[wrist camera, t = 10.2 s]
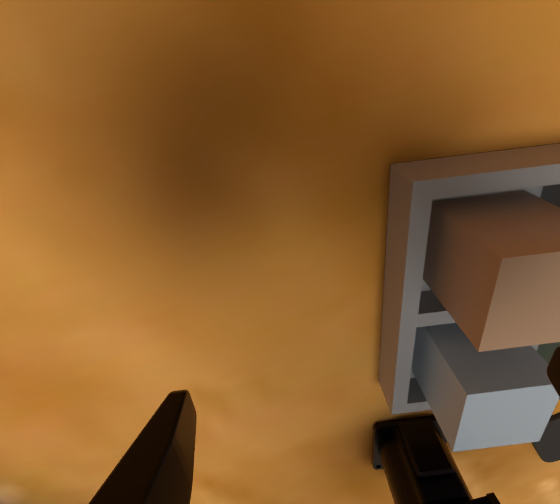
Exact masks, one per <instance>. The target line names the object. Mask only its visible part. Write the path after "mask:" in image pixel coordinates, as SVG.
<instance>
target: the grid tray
mask: <svg viewBox="0 0 560 504" xmlns="http://www.w3.org/2000/svg"><path fill="white" fill-rule="evenodd" d="M558 346H560V143H557V144H549V145H541V146H533V147H525V148H517V149H509V150H500V151H492V152H484V153H476V154H468V155H460V156H452V157H443V158H435V159H427V160H419V161H411V162H403V163H395V164H391V165H390V183H389V201H388V218H387V236H386V254H385V272H384V289H383V307H382V325H381V343H380V360H379V378H378V380H379V383H380V385H381V388H382V391H383V393H384V396H385V398H386V401H387V404H388V406H389V409H390V411H391V414H392V415H394V414H402V413H410V412H418V411H426V410H432V412H433V414H434V416H435V418H436V420H437V422H438V424H439V426H440V428H441V430H442V432H443V434H444V436H445V438H446V440H447V442H448V444H449V446H450V448H451V450H452V452H457V451H465V450H473V449H481V448H489V447H497V446H505V445H513V444H521V443H530V442H538V441H540V439H541V436H542V434H543V432H544V430H545V428H546V426H547V424H548V421H549V419H550V417H551V415H552V413H553V411H554V409H555V406H556V404H557V402H558V400H559V399H560V397H559V395H558V394H557V392H556V390H555V389H554V387H553V385H552V384H551V382H550V380H549V378H548V376H547V366H548V364H549V362H550V360H551V357H552V355H553V353H554V350H555V349H556V348H557V347H558Z"/></svg>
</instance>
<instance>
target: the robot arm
mask: <svg viewBox="0 0 560 504" xmlns="http://www.w3.org/2000/svg"><path fill="white" fill-rule="evenodd" d="M547 376H548V378H549V380H550V382H551V384H552V385H553V387H554V389H555V390H556V392H557V394H558V395H559V397H560V346H558V347H557V348H556V349H555V350H554V353H553V355H552V357H551V360H550V362H549V364H548V366H547ZM195 435H196V410H195V407H194V404H193V402H192V399H191V396H190V393H189V391H188V390H178V391H172V392H171V393H169V394H168V396H167V397H166V398H165V400H164V401H163V402H162V404H161V405H160V407H159V408H158V409H157V411H156V412H155V413H154V415H153V416H152V417H151V419H150V420H149V422H148V423H147V424H146V426H145V427H144V428H143V430H142V431H141V433H140V434H139V435H138V437H137V438H136V439H135V441H134V442H133V444H132V445H131V446H130V448H129V449H128V450H127V452H126V453H125V455H124V456H123V457H122V459H121V460H120V461H119V463H118V464H117V465H116V467H115V468H114V470H113V471H112V472H111V474H110V475H109V476H108V478H107V479H106V481H105V482H104V483H103V485H102V486H101V487H100V489H99V490H98V492H97V493H96V494H95V496H94V497H93V498H92V500H91V501H90V502H89V504H190V498H191V491H192V481H193V466H194V451H195ZM446 442H447V440H446V438H445V436H444V434H443V432H442V430H441V428H440V426H439V424H438V422H437V420H436V418H435V416H432V417H424V418H416V419H408V420H400V421H392V422H384V423H378V424H376V425H375V426H374V431H373V451H372V465H373V468H374V469H376V470H378V469H384V471H385V474H386V477H387V481H388V484H389V487H390V490H391V493H392V497H393V500H394V503H395V504H500V502H499V501H498V499H497V497H496V496H495V494H494V493H489V494H486V496H484V497H480V498H476V499H473V498H472V496H471V494H470V492H469V490H468V488H467V486H466V484H465V482H464V480H463V478H462V476H461V474H460V472H459V470H458V468H457V466H456V463H455V461H454V459H453V457H452V455H451V453H450V451H449V449H448V447H447V445H446Z"/></svg>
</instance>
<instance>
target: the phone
mask: <svg viewBox="0 0 560 504" xmlns="http://www.w3.org/2000/svg"><path fill="white" fill-rule="evenodd" d="M532 444H533V446H534V447H535V449H536V451H537V453H538V454H539V456H540V457H541V459H542V460H543V461H545V462H554V461H558V460H560V413H557V414H555V415H552V416H551V417H550V419H549V421H548V424H547V426H546V428H545V430H544V432H543V434H542V436H541V439H540V441H538V442H532Z"/></svg>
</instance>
